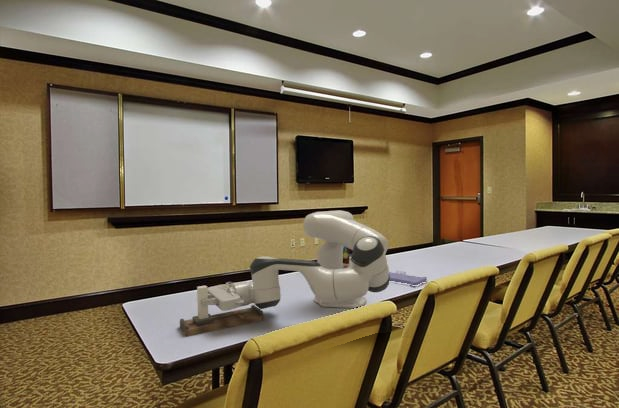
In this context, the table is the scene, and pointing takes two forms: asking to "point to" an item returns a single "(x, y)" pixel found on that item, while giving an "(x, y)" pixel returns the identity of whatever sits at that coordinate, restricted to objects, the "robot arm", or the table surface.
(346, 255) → the toy clock
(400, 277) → the computer part
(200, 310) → the fader tab
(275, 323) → the table surface
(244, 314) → the fader track
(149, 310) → the table surface
